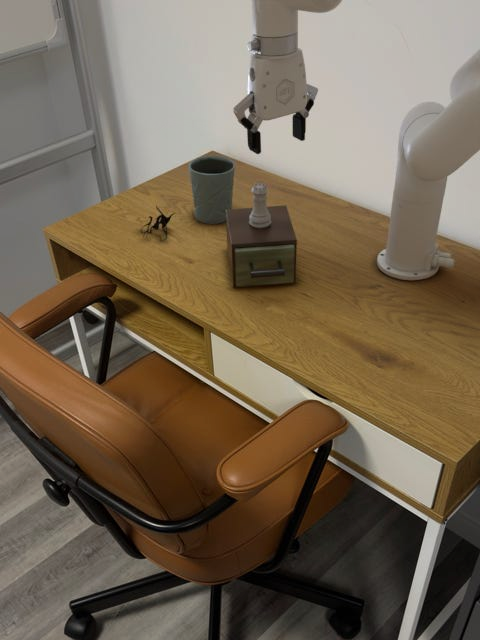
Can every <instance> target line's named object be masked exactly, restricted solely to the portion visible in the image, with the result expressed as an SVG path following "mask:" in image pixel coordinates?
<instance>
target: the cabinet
mask: <svg viewBox="0 0 480 640" xmlns="http://www.w3.org/2000/svg"><path fill="white" fill-rule="evenodd" d="M267 210H268V211H269V214H270V215H271V219H270V220H271V223H270V225H269V226H268V227H266V228H262V229H258V228H254V227H252V226H251V225H250V224H249V221H250V219H249V216H250V214H251V212H252V211H253V207H242V208H241V207H240V208H232V209H226V221H225V226H226V227H225V228H226V230H225V231H226V248H227V249H226V251H227V257H228V264H229V269H230V277H231V282H232V288H245V287H248V286H238V287H237V286H236V267H235V248H238V247H253V246H267V245H281V244H289V245H292V244H294V247H295V248H294V282H293V283H292V284H296V279H297V278H296V275H297V273H296V272H297V251H298V250H297V246H298V245H297V244H298V239H297V235H296V233H295V229H294V227H293V223H292V220H291V216H290V214H289V210H288V206H287V205H286V204H284V205H271V206H267ZM284 284H285V285H286V284H287V285H288V284H289V283H279V284H278V285H284ZM272 285H275V284H265V285H264V286H272ZM258 286H259V287H261V285H252V286H251V287H258Z"/></svg>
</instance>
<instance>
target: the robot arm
mask: <svg viewBox="0 0 480 640" xmlns="http://www.w3.org/2000/svg"><path fill="white" fill-rule="evenodd" d="M342 2H343V0H251V13H252V14H251V15H252V37H251V39H252V40H251V41H249V42H247V46H246V47H247V50H248V51H249V52H253V53H251V54H250V57H249V58H250V59H249V65H248V73H247V95H246V96H245V97H244V98H243V99H241V100H240V101H239V102H238V103H237V104H236V105H235V106H234V107H233V108H232V113H234V115H235V118H236V119H237V122H238V123H239V124H240V125H242V126H243V127H244V129H246V132H247V133H246V135H247V147H248V149H249V150H250V151H251V152H252V153H254V154H256V155H260V154H261V153H262V137H261V135H262V134H261V133H262V132H260V131H259V128H260V126H261V125H262V123H263V121H272V120H276V119H280V118H283V117H286V116H290V115H292V137H293V138H295V139H297V140H298V141H300V142H303V141H305V140H306V132H307V131H306V129H307V128H306V127H307V118H309V116H310V111H311V110H312V108H313V107H314V104H315V100H316V98H317V95H318V93H319V88H318V87H316V86H314V85H311V84H309V83H307V71H306V64H305V59H304V53H303V49H301V48H299V11H300V12H308V13H315V14H316V13H318V14H323V13H328V12H331V11H333V10H335V9H336V8H337V7H338V6H339V5H340V4H341V3H342ZM449 95H450V100H451V102H450V103H449V104H448V105H447V106H444V105H443V104H440V103H438V102H435V101H424V102H420V103H418V104H417V105H415V106H413V107H412V108H410V110H409V111H408V112H407V113H406V114H405V116H404V118H403V120H402V122H401V125H400V128H399V131H398V132H399V133H398V144H397V157H396V159H397V160H396V168H395V169H396V171H395V178H394V179H395V180H394V185H393V186H394V187H393V193H392V199H391V200H392V202H391V209H390V216H389V223H388V232H387V239H386V247H385V248H384V249H382V250H381V251H380V252H379V253H378V255H377V258H376V265H377V267H378V269H379V270H380V271H381V272H382V273H384V274H385V275H386V276H389V277H391V278H394V279H397V280H401V281H419V280H420V281H421V280H425V279H428V278H431V277H432V276H434V275H436V273H437V272H438V271H439V269H440V267H442V268H445V269H450V270H453V269H454V266H455V262H456V259H455V258H451V257H452V253H449V252H442V251H441V250H439V242H436V241H437V236H438V232H439V231H438V230H439V226H440V219H441V215H442V214H441V213H442V209H443V204H444V198H445V194H446V189H447V188H446V187H447V184H448V183H447V182H448V177H449V176H451V175H452V174H453V173H455V172H456V171H457V170H458V169H460V168H461V167H462V166H463V165H464V164H465V163H467V162H468V161H469V160H470V159H471V158H473V156H475V155H476V154H477V153H478V152H479V151H480V48H478V49H477V51H476V52H475V53H474V54H472V55H471V57H470V58H468V59H467V60H466V61H465V62H464V63H463V64H462V65H461V66H460V67H459V68H458V69H457V70H456V71H455V72H454V75H453V76H452V78H451V81H450V84H449ZM247 110H248V112H249V115H248V116H246V111H247Z"/></svg>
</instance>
